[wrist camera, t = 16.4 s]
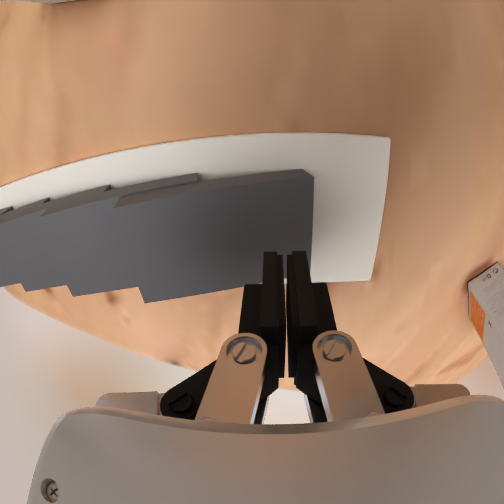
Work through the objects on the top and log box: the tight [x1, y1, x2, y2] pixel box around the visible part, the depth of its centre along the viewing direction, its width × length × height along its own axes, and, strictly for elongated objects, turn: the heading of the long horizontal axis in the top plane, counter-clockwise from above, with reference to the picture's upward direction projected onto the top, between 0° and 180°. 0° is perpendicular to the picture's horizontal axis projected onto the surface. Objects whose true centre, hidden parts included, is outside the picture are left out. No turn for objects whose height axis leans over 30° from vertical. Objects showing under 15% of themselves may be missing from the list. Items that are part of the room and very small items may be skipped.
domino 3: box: [39, 173, 199, 297], centre depth 15 cm, size 2×6×10 cm
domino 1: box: [0, 197, 50, 287], centre depth 16 cm, size 2×6×10 cm
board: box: [0, 132, 391, 284], centre depth 17 cm, size 32×10×1 cm, turn 94°
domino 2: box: [0, 184, 111, 292], centre depth 16 cm, size 2×6×10 cm
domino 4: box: [113, 169, 314, 303], centre depth 15 cm, size 2×6×10 cm
